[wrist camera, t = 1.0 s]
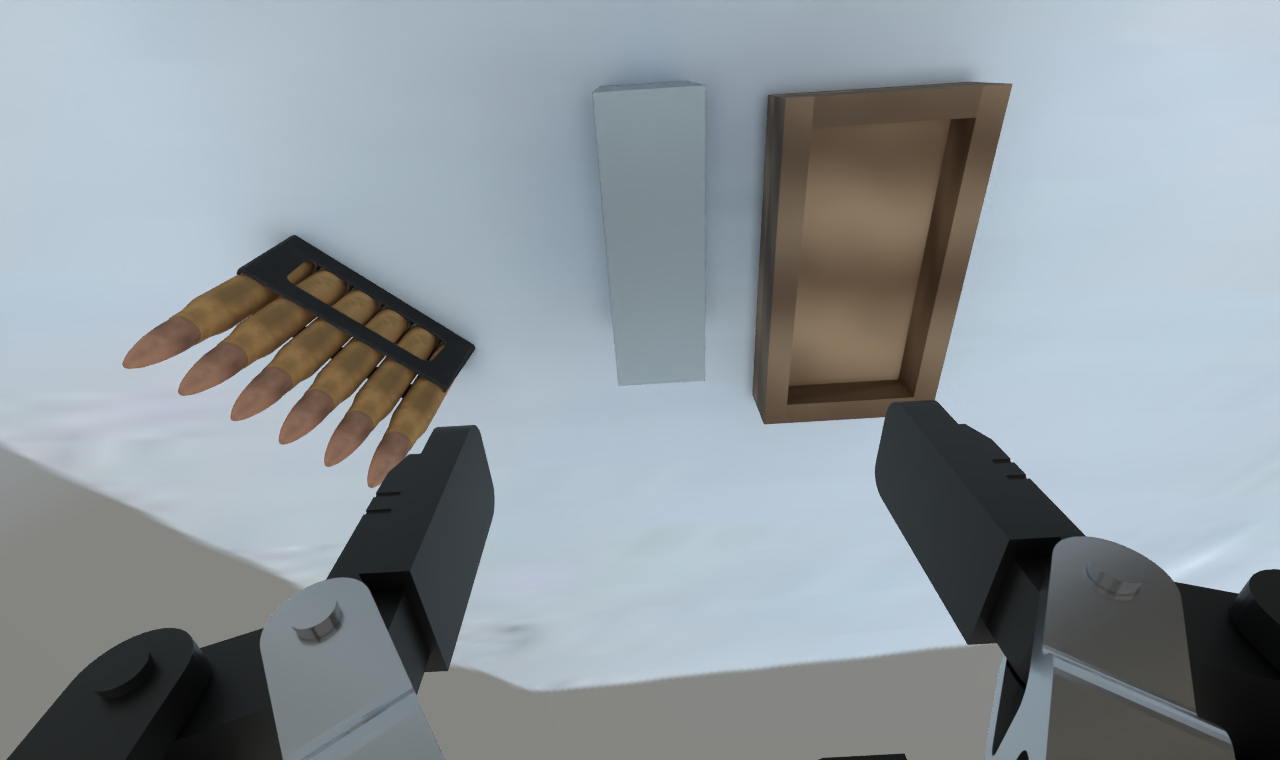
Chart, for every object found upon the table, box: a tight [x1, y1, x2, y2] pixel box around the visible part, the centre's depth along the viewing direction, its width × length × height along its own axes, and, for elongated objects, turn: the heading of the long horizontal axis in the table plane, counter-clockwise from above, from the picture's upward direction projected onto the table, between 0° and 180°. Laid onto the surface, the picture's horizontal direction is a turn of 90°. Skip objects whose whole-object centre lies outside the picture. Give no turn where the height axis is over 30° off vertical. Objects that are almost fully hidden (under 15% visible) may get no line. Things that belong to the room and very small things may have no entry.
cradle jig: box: [753, 82, 1012, 424], centre depth 28 cm, size 16×9×3 cm, turn 3°
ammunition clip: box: [122, 235, 475, 488], centre depth 25 cm, size 11×2×12 cm, turn 52°
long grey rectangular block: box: [592, 81, 706, 386], centre depth 25 cm, size 12×4×7 cm, turn 3°
